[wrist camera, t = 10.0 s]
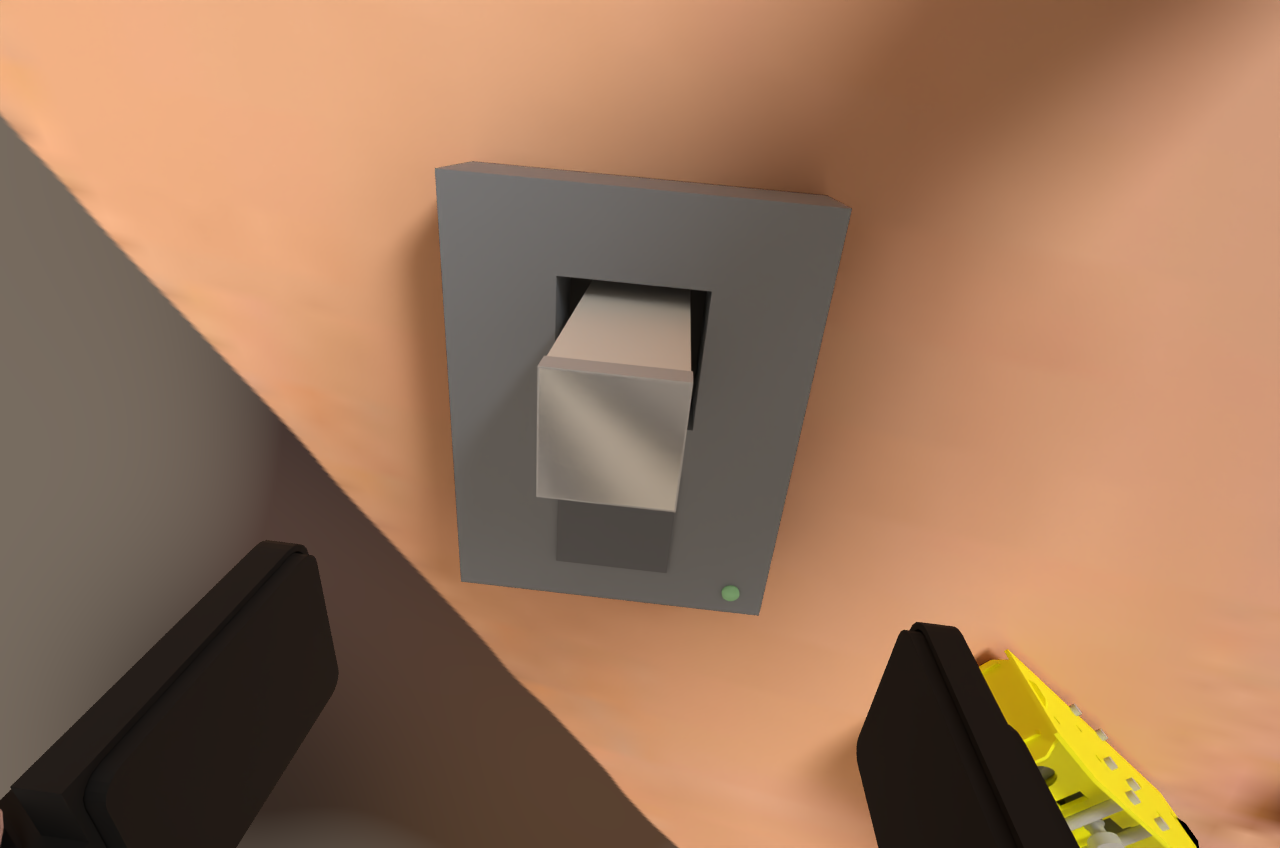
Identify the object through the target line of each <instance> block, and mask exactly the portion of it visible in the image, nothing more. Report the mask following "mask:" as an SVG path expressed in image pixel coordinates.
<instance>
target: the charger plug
mask: <svg viewBox="0 0 1280 848" xmlns="http://www.w3.org/2000/svg"><path fill="white" fill-rule="evenodd" d="M692 389H693V371H691V319H690V289H680V288H670V287H661V286H651V285H641V284H631V283H622V282H612V281H602V280H592V282H591V284H590V285H589V287H588V288H587V290H586V292H585V293H584V295H583V297H582V298H581V300H580V302H579V303H578V305H577V307H576V308H575V310H574V312H573V313H572V315H571V317H570V318H569V320H568V322H567V323H566V325H565V327H564V328H563V330H562V331H561V333H560V335H559V336H558V338H557V340H556V341H555V343H554V345H553V346H552V348H551V350H550V351H549V353H548V355H547V356H543V358H542V360H541V361H540V363H539V365H538V368H537V471H536V497H543V498H552V499H561V500H570V501H579V502H588V503H596V504H605V505H614V506H623V507H632V508H641V509H650V510H659V511H668V512H676V507H677V500H678V492H679V485H680V477H681V470H682V463H683V455H684V448H685V440H686V433H687V426H688V418H689V411H690V403H691V396H692Z"/></svg>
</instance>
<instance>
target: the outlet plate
mask: <svg viewBox="0 0 1280 848" xmlns="http://www.w3.org/2000/svg"><path fill="white" fill-rule="evenodd" d="M435 177H436V193H437V209H438V225H439V241H440V256H441V272H442V288H443V304H444V320H445V335H446V351H447V367H448V383H449V399H450V414H451V430H452V446H453V462H454V478H455V493H456V509H457V525H458V541H459V557H460V572H461V581H462V582H470V583H479V584H488V585H496V586H505V587H514V588H522V589H531V590H540V591H549V592H557V593H566V594H575V595H583V596H592V597H601V598H609V599H618V600H627V601H636V602H644V603H653V604H662V605H670V606H679V607H688V608H696V609H705V610H714V611H723V612H731V613H740V614H749V615H757V616H759V612H760V608H761V604H762V599H763V595H764V591H765V586H766V582H767V577H768V573H769V569H770V564H771V560H772V556H773V551H774V547H775V543H776V538H777V534H778V529H779V525H780V521H781V516H782V512H783V508H784V503H785V499H786V495H787V490H788V486H789V481H790V477H791V473H792V468H793V464H794V460H795V455H796V451H797V446H798V442H799V438H800V433H801V429H802V425H803V420H804V416H805V412H806V407H807V403H808V398H809V394H810V390H811V385H812V381H813V377H814V372H815V368H816V364H817V359H818V355H819V350H820V346H821V342H822V337H823V333H824V329H825V324H826V320H827V316H828V311H829V307H830V302H831V298H832V294H833V289H834V285H835V281H836V276H837V272H838V268H839V263H840V259H841V254H842V250H843V246H844V241H845V237H846V233H847V228H848V224H849V220H850V215H851V211H852V208H850V207H848V206H846V205H844V204H842V203H840V202H838V201H837V200H835V199H833V198H831V197H829V196H827V195H816V194H806V193H796V192H785V191H775V190H764V189H754V188H744V187H733V186H723V185H713V184H702V183H692V182H682V181H671V180H661V179H650V178H640V177H630V176H619V175H609V174H599V173H588V172H578V171H567V170H557V169H547V168H536V167H526V166H516V165H505V164H495V163H485V162H474V161H472V162H466V163H461V164H456V165H450V166H445V167H439V168H435ZM592 280H602V281H612V282H622V283H631V284H641V285H651V286H661V287H670V288H680V289H690V319H691V371H693V389H692V396H691V403H690V411H689V418H688V426H687V433H686V440H685V448H684V455H683V463H682V470H681V477H680V485H679V492H678V500H677V507H676V512H668V511H659V510H650V509H641V508H632V507H623V506H614V505H605V504H596V503H588V502H579V501H570V500H561V499H552V498H543V497H536V471H537V368H538V365H539V363H540V361H541V360H542V358H543V356H547V355H548V353H549V351H550V350H551V348H552V346H553V345H554V343H555V341H556V340H557V338H558V336H559V335H560V333H561V331H562V330H563V328H564V327H565V325H566V323H567V322H568V320H569V318H570V317H571V315H572V313H573V312H574V310H575V308H576V307H577V305H578V303H579V302H580V300H581V298H582V297H583V295H584V293H585V292H586V290H587V288H588V287H589V285H590V284H591V282H592Z"/></svg>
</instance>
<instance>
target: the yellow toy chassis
mask: <svg viewBox="0 0 1280 848" xmlns="http://www.w3.org/2000/svg"><path fill="white" fill-rule="evenodd" d="M1004 652H1005V653H1006V655H1007V657H1008V658H1009V660H990V661H988V662H986V663H984V664H983V665H981V666H979V668H980V670H981V672H982V674H983V676H984V678H985V680H986V682H987V684H988V686H989V688H990V690H991V692H992V694H993V696H994V698H995V700H996V702H997V704H998V706H999V708H1000V709H1001V711H1002V713H1003V715H1004V717H1005V719H1006V721H1007V723H1008V725H1010V726H1012V727H1013V728H1014V729H1015V730H1016V731H1017V732H1018V733H1019V735H1020V736H1021V738H1022V739H1023V741H1024V742H1025V744H1026V746H1027V748H1028V749H1029V751H1030V753H1031V755H1032V757H1033V759H1034V761H1035V763H1036V765H1037V767H1038V769H1039V770H1040V772H1041V774H1042V776H1043V778H1044V780H1045V782H1046V784H1047V786H1048V788H1049V790H1050V792H1051V793H1052V795H1053V797H1054V799H1055V801H1056V803H1057V805H1058V807H1059V809H1060V811H1061V813H1062V814H1063V816H1064V818H1065V820H1066V822H1067V824H1068V826H1069V828H1070V830H1071V832H1072V834H1073V835H1074V837H1075V839H1076V841H1077V843H1078V845H1079V847H1080V848H1199V844H1198V840H1197V839H1196V837H1195V836H1194V835H1193V833H1192V832H1191V830H1190V829H1189V828H1188V826H1187V825H1186V824H1185V823H1184V822H1183V821H1181V820H1180V819H1178V817H1177V816H1176V814H1175V813H1174V812H1173V810H1172V809H1171V807H1170V806H1169V805H1168V803H1167V802H1166V800H1165V799H1164V797H1163V796H1162V795H1161V793H1160V792H1159V791H1158V790H1157V789H1156V788H1155V787H1154V786H1152V785H1151V784H1150V783H1149V782H1148V781H1147V780H1146V779H1145V778H1144V777H1143V776H1142V775H1141V774H1140V773H1139V772H1138V771H1137V770H1135V769H1134V768H1133V767H1132V766H1131V765H1130V764H1129V763H1128V762H1127V761H1126V760H1125V759H1124V758H1123V757H1122V756H1121V755H1120V754H1118V753H1117V752H1116V751H1115V750H1114V749H1113V748H1112V747H1111V746H1110V745H1109V744H1108V743H1107V742H1106V741H1105V740H1106V739H1108V737H1107V735H1106V734H1105V733H1104V732H1103V730H1102V729H1098V730H1096V731H1094V730H1093V729H1092V728H1091V727H1090V726H1089V725H1088V724H1087V723H1086V722H1085V721H1083V720H1082V719H1081V718H1080V717H1079V715H1081V714H1082V712H1081V711H1080V709H1079V708H1078V707H1077V706H1076V705H1075V704H1073V705H1071V706H1068V705H1066V704H1065V703H1064V702H1063V701H1062V700H1061V699H1060V698H1059V697H1058V696H1057V695H1056V694H1055V693H1054V692H1053V691H1052V690H1051V689H1049V688H1048V687H1047V686H1046V685H1045V684H1044V683H1043V682H1042V681H1041V680H1040V679H1039V678H1038V677H1037V676H1036V675H1035V674H1034V673H1032V672H1031V671H1030V670H1029V669H1028V668H1027V667H1026V666H1025V665H1024V664H1023V663H1022V662H1021V661H1020V660H1019V659H1018V658H1017V657H1015V656H1014V655H1013V654H1012V653H1011V652H1010V651H1009V650H1008V649H1007V650H1005V651H1004Z"/></svg>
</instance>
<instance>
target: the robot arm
mask: <svg viewBox="0 0 1280 848" xmlns="http://www.w3.org/2000/svg"><path fill="white" fill-rule="evenodd" d="M337 680H338V666H337V661H336V656H335V651H334V646H333V641H332V636H331V631H330V626H329V621H328V616H327V611H326V606H325V601H324V596H323V591H322V586H321V581H320V576H319V571H318V565H317V562H316V559H315V557H314V556H312V555H309V554H308V552H307V549H306V548H305V547H304V546H303V545H300V544H293V543H285V542H277V541H269V540H266V541H262V542H260V543H259V544H258V545H256V546H255V547H254V548H253V549H252V550H251V551H250V552H249V553H248V554H247V555H246V556H245V557H244V558H243V559H242V560H241V561H240V562H239V563H238V564H237V565H236V566H235V567H234V568H233V569H232V570H231V571H230V572H229V573H228V574H227V575H226V576H225V577H224V578H223V579H221V580H220V581H219V583H217V584H216V586H214V587H213V588H212V589H211V590H210V591H209V592H208V593H207V594H206V595H205V596H204V597H203V598H202V599H201V600H200V601H199V602H198V603H197V604H196V605H195V606H194V607H193V608H192V609H191V610H190V611H189V612H188V613H187V614H186V615H185V616H184V617H183V618H182V619H181V620H180V621H179V622H178V623H177V624H176V625H175V626H174V627H173V628H172V629H171V630H170V631H169V632H168V633H166V634H165V636H164V637H162V638H161V640H159V641H158V642H157V643H156V644H155V645H154V646H153V647H152V648H151V649H150V650H149V651H148V652H147V653H146V654H145V655H144V656H143V657H142V658H141V659H140V660H139V661H138V662H137V663H136V664H135V665H134V666H133V667H132V668H131V669H130V670H129V671H128V672H127V673H126V674H125V675H124V676H123V677H122V678H121V679H120V680H119V681H118V682H117V683H116V684H115V685H114V686H113V687H112V688H110V689H109V690H108V691H107V692H106V693H105V694H104V695H103V696H102V697H101V698H100V699H99V700H98V701H97V702H96V703H95V704H94V705H93V706H92V707H91V708H90V709H89V710H88V711H87V712H86V713H85V714H84V715H83V716H82V717H81V718H80V719H79V720H78V721H77V722H76V723H75V724H74V725H73V726H72V727H71V728H70V729H69V730H68V731H67V732H66V733H65V734H64V735H63V736H62V737H61V738H60V739H59V740H57V741H56V742H55V743H54V744H53V746H51V747H50V748H49V749H48V750H47V751H46V752H45V753H44V754H43V755H42V756H41V757H40V758H39V759H38V760H37V761H36V762H35V763H34V764H33V765H32V766H31V767H30V768H29V769H28V770H27V771H26V772H25V773H24V774H23V775H22V776H21V777H20V778H19V779H18V780H17V781H16V782H15V783H14V784H13V785H12V786H11V790H10V791H9V792H8V793H7V794H6V795H5V796H4V797H3V798H2V799H1V800H0V848H236V847H237V846H238V844H239V842H240V841H241V839H242V838H243V836H244V834H245V833H246V831H247V830H248V828H249V826H250V825H251V823H252V822H253V820H254V818H255V817H256V815H257V814H258V812H259V810H260V809H261V807H262V806H263V804H264V802H265V801H266V799H267V798H268V796H269V794H270V793H271V791H272V790H273V788H274V786H275V785H276V783H277V782H278V780H279V778H280V777H281V775H282V774H283V772H284V770H285V769H286V767H287V766H288V764H289V763H290V761H291V759H292V758H293V756H294V754H295V753H296V751H297V750H298V748H299V746H300V745H301V743H302V742H303V740H304V739H305V737H306V735H307V734H308V732H309V730H310V729H311V727H312V726H313V724H314V723H315V721H316V719H317V718H318V716H319V715H320V713H321V711H322V710H323V708H324V707H325V705H326V703H327V702H328V700H329V699H330V697H331V695H332V694H333V692H334V690H335V687H336V684H337ZM857 762H858V767H859V771H860V775H861V779H862V783H863V787H864V791H865V795H866V799H867V803H868V807H869V811H870V815H871V819H872V823H873V828H874V832H875V836H876V840H877V844H878V848H1080V847H1079V845H1078V843H1077V841H1076V839H1075V837H1074V835H1073V834H1072V832H1071V830H1070V828H1069V826H1068V824H1067V822H1066V820H1065V818H1064V816H1063V814H1062V813H1061V811H1060V809H1059V807H1058V805H1057V803H1056V801H1055V799H1054V797H1053V795H1052V793H1051V792H1050V790H1049V788H1048V786H1047V784H1046V782H1045V780H1044V778H1043V776H1042V774H1041V772H1040V770H1039V769H1038V767H1037V765H1036V763H1035V761H1034V759H1033V757H1032V755H1031V753H1030V751H1029V749H1028V748H1027V746H1026V744H1025V742H1024V741H1023V739H1022V738H1021V736H1020V735H1019V733H1018V732H1017V731H1016V730H1015V729H1014V728H1013V727H1012V726H1010V725H1008V723H1007V721H1006V719H1005V717H1004V715H1003V713H1002V711H1001V709H1000V708H999V706H998V704H997V702H996V700H995V698H994V696H993V694H992V692H991V690H990V688H989V686H988V684H987V682H986V680H985V678H984V676H983V674H982V672H981V670H980V668H979V666H978V664H977V663H976V661H975V659H974V657H973V655H972V653H971V651H970V649H969V647H968V645H967V643H966V641H965V639H964V637H963V635H962V634H961V632H960V631H959V629H957V628H956V627H953V626H945V625H937V624H929V623H922V622H916V623H914V624H913V625H912V627H911V629H910V631H908V630H902V631H901V632H900V634H899V636H898V638H897V641H896V643H895V646H894V648H893V651H892V654H891V656H890V659H889V661H888V664H887V666H886V669H885V671H884V674H883V676H882V679H881V682H880V684H879V687H878V689H877V692H876V694H875V697H874V699H873V702H872V704H871V707H870V710H869V712H868V715H867V717H866V720H865V722H864V725H863V727H862V730H861V732H860V735H859V738H858V741H857Z"/></svg>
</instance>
